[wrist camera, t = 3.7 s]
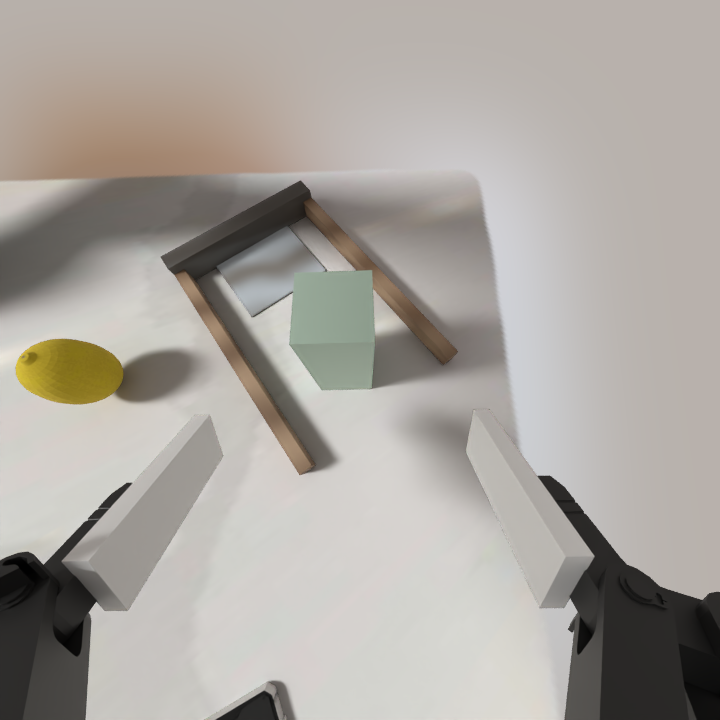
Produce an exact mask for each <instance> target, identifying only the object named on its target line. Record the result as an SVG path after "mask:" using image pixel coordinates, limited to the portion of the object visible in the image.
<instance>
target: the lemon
mask: <svg viewBox="0 0 720 720" xmlns="http://www.w3.org/2000/svg"><path fill="white" fill-rule="evenodd" d="M16 375H17V378H18V380H19V382H20V383H21V384H22V385H23V386H24V387H25V388H26V389H27V390H28V391H30V392H31V393H33V394H35V395H38V396H40V397H42V398H45V399H47V400H50V401H54V402H58V403H65V404H87V403H93V402H97V401H100V400H102V399H105V398H107V397H108V396H110V395H111V394H113V393H114V392H115V391H116V390H117V389H118V387H119V386H120V385H121V382H122V380H123V368H122V365H121V363H120V362H119V360H118V359H117V358H116V357H115V356H114V355H113V354H112V353H110V352H109V351H107V350H105V349H103V348H102V347H100V346H97V345H95V344H91V343H88V342H83V341H78V340H72V339H53V340H48V341H44V342H40V343H38V344H36V345H34V346H31V347H30V348H29V349H27V350H26V351H25V352H24V353H23V354H22V355H21V356H20V357H19V359H18V361H17V364H16Z"/></svg>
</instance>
